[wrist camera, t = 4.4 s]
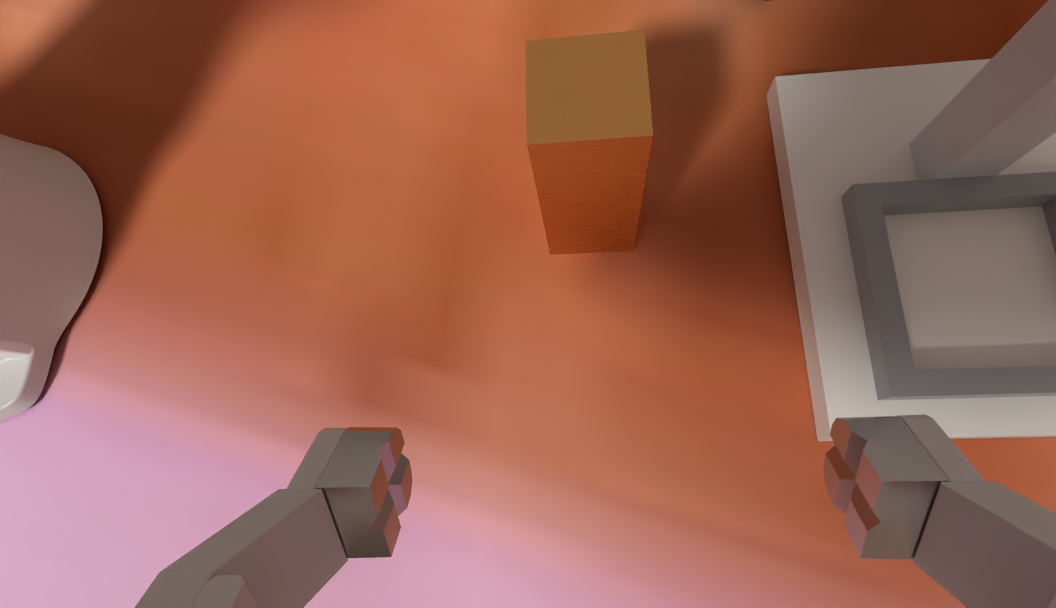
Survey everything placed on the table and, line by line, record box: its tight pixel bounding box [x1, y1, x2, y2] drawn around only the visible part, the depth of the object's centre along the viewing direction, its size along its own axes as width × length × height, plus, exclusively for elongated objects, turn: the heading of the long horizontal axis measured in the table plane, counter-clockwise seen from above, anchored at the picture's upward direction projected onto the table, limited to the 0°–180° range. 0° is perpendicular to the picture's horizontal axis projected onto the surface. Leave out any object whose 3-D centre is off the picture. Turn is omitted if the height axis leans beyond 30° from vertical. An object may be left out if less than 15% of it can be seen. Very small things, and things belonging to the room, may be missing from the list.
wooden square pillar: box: [526, 30, 653, 255], centre depth 24 cm, size 4×4×10 cm
